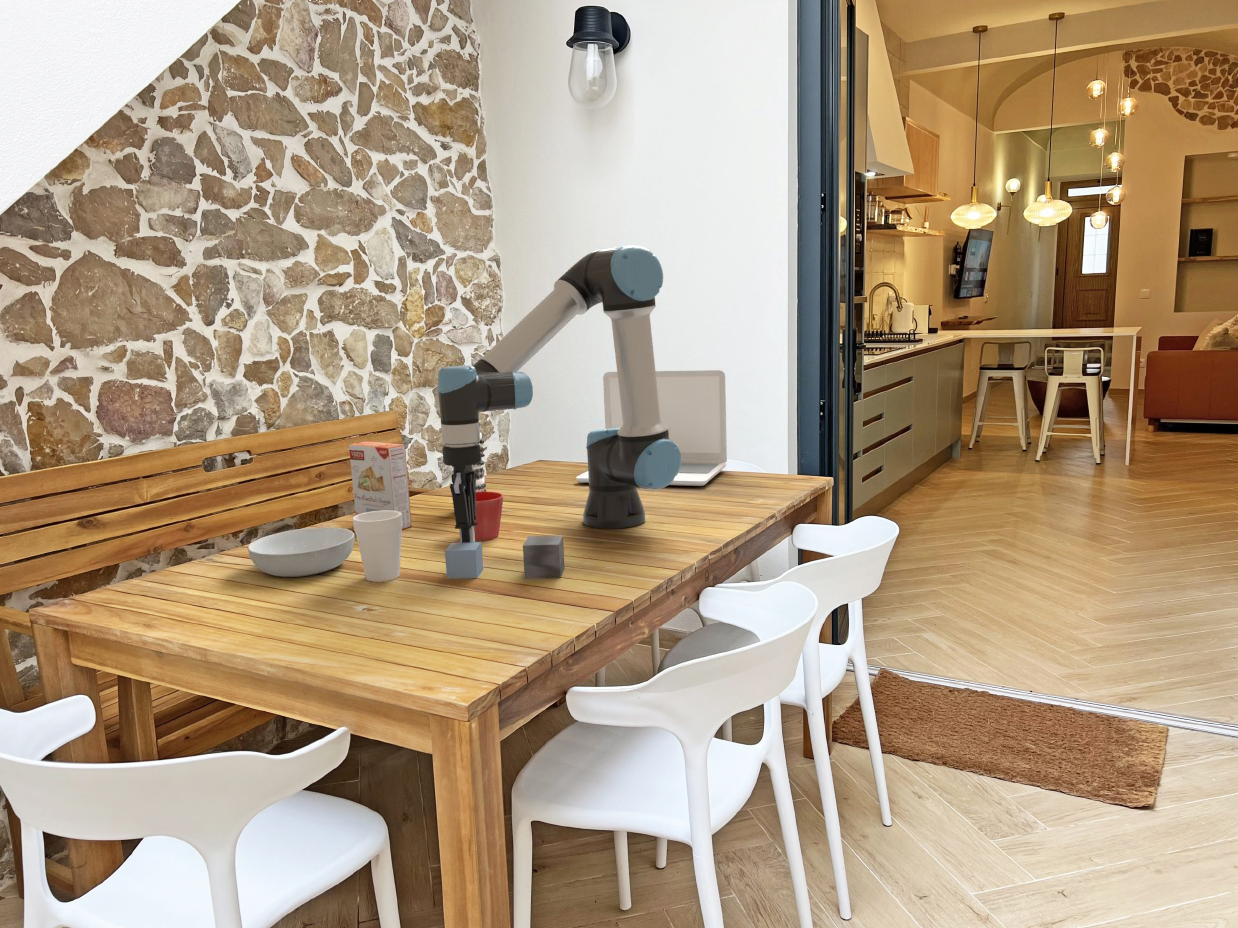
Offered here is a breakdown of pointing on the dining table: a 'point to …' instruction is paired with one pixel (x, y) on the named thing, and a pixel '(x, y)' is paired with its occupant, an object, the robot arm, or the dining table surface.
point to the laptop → (683, 420)
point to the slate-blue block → (464, 560)
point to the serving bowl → (302, 551)
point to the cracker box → (380, 478)
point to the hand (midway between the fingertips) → (468, 558)
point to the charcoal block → (543, 557)
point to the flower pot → (488, 515)
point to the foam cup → (379, 543)
